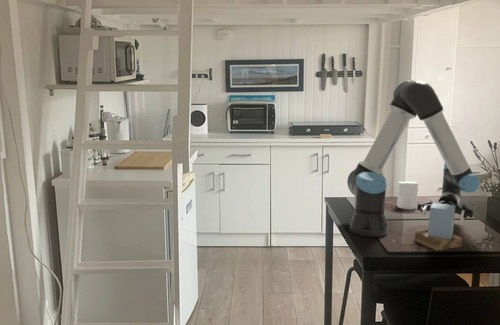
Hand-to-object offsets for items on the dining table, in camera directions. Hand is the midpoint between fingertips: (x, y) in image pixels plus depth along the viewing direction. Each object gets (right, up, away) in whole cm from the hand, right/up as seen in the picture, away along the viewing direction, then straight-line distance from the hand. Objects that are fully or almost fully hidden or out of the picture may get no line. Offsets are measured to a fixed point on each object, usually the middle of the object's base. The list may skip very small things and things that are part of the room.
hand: (442, 215), depth 184 cm
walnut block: (-1, -11, +2) cm, 12 cm away
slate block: (0, -7, +2) cm, 8 cm away
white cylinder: (+4, -2, +53) cm, 53 cm away
